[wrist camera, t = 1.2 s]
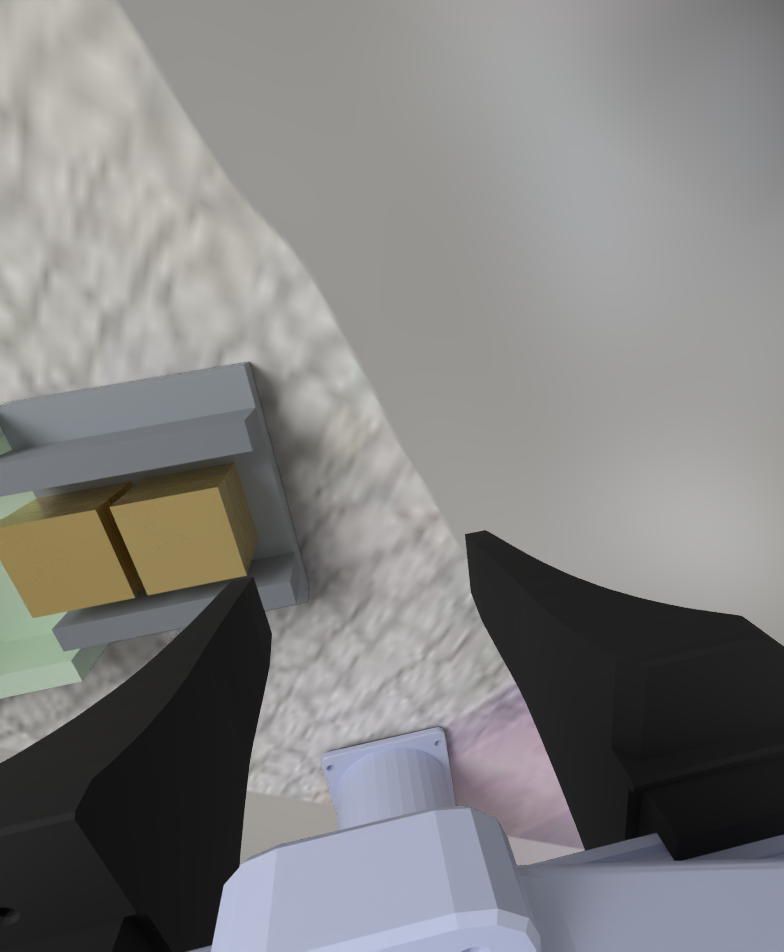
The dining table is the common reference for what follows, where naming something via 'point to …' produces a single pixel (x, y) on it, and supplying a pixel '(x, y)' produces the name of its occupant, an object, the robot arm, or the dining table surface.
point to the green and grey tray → (132, 459)
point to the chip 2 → (187, 528)
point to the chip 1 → (68, 551)
